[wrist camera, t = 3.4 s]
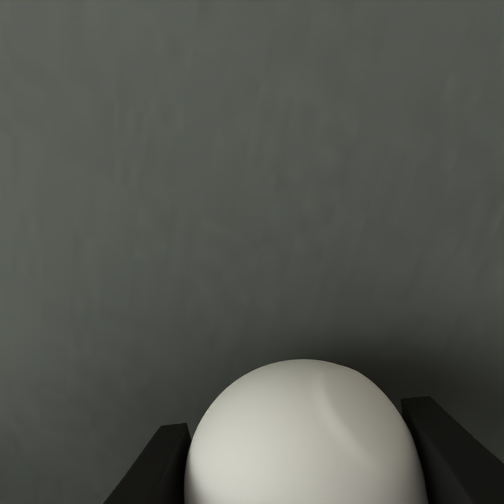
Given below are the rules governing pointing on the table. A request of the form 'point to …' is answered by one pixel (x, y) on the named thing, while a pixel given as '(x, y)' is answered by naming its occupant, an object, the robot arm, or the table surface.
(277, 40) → the table surface
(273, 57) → the table surface
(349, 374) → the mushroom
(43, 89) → the table surface
